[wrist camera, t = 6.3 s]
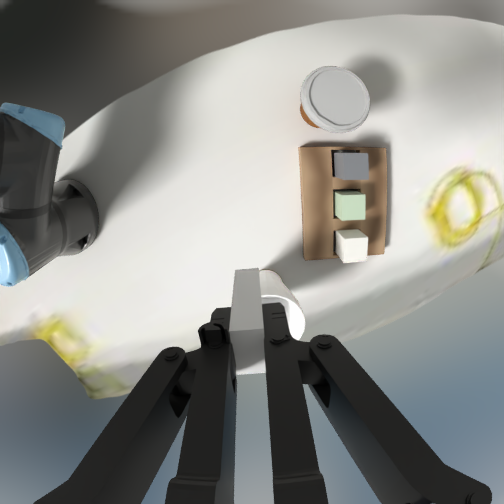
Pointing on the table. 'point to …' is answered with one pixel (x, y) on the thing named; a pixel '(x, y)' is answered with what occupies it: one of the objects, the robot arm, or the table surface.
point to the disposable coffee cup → (334, 100)
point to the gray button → (351, 166)
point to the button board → (321, 201)
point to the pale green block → (349, 205)
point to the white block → (351, 245)
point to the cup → (282, 301)
